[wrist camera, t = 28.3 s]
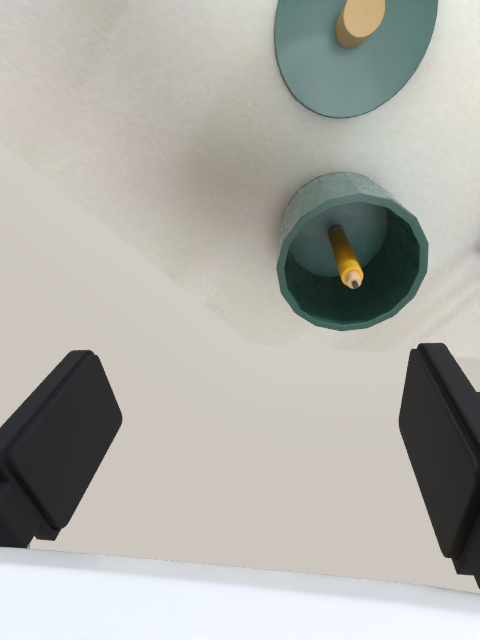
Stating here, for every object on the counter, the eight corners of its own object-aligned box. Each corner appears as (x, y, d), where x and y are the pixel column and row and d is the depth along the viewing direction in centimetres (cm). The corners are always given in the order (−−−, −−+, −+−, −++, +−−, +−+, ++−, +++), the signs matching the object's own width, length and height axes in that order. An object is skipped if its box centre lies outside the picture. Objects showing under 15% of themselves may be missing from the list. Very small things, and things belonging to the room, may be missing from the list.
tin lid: (246, 10, 27) (236, -12, 22) (392, -134, 23) (422, -204, 18) (320, 147, 32) (325, 154, 27) (456, 50, 27) (494, 36, 22)
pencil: (326, 226, 35) (342, 278, 24) (342, 222, 34) (366, 273, 24) (328, 241, 36) (345, 298, 25) (344, 238, 35) (368, 294, 24)
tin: (260, 215, 36) (250, 249, 27) (361, 146, 31) (390, 160, 22) (313, 296, 40) (320, 349, 31) (410, 245, 35) (450, 290, 26)
